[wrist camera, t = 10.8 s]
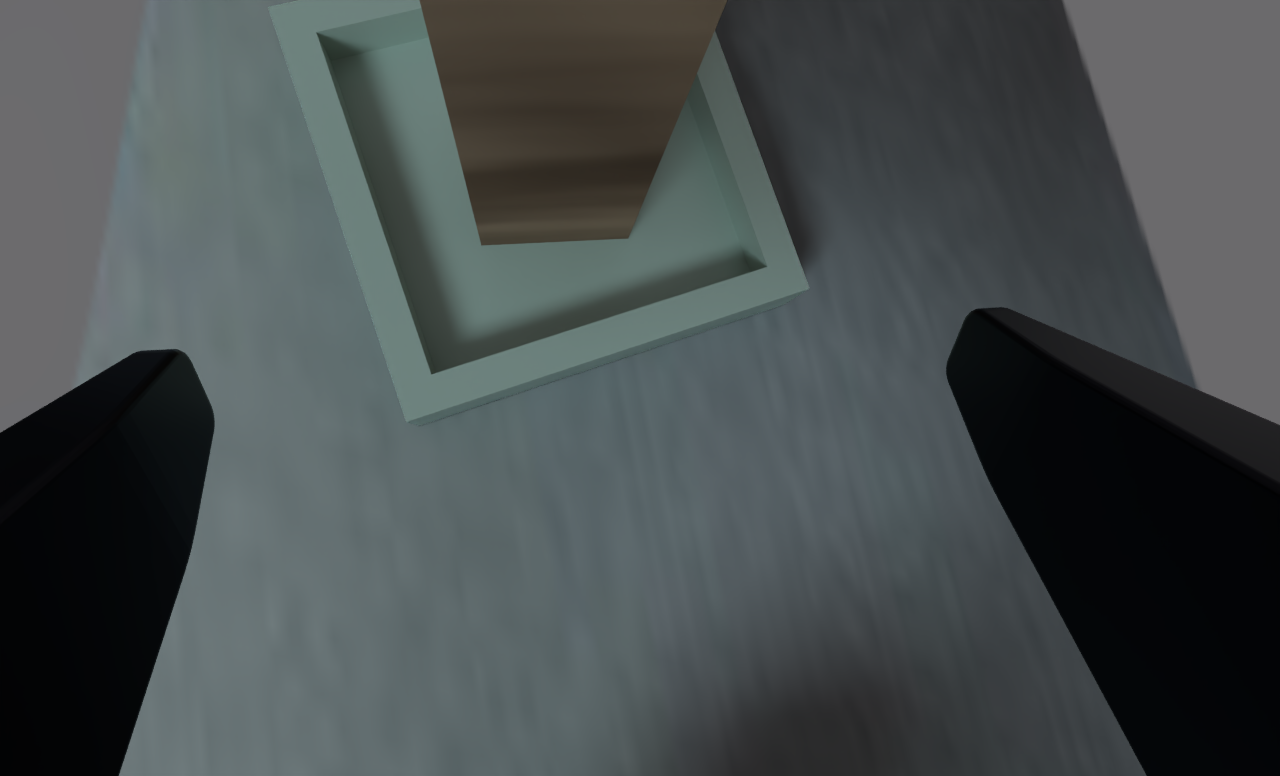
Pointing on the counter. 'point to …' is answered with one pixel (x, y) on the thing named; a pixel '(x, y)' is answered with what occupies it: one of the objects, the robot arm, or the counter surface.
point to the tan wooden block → (564, 106)
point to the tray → (531, 272)
